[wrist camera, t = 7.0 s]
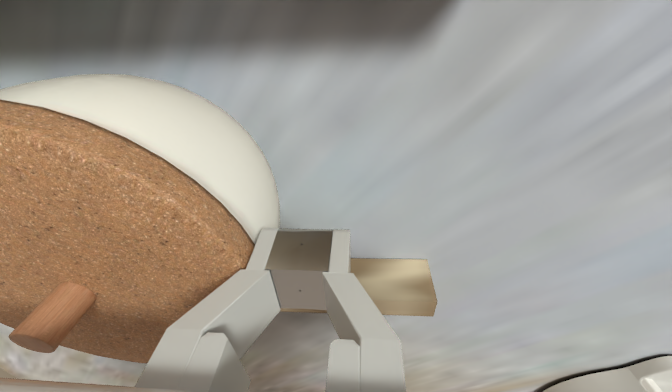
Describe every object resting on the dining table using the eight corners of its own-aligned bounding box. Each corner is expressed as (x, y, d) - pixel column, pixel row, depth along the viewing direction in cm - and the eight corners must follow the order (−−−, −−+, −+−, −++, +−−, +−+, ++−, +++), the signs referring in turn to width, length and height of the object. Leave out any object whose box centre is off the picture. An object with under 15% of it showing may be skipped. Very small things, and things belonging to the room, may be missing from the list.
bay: (507, -117, 8) (602, -178, 5) (424, 274, 19) (436, 333, 16) (-192, -55, 10) (-440, -70, 7) (93, 267, 21) (46, 318, 18)
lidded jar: (131, 222, 18) (-31, 396, 10) (37, 27, 11) (-578, 118, 4) (300, 241, 18) (258, 428, 10) (303, 56, 11) (198, 203, 4)
